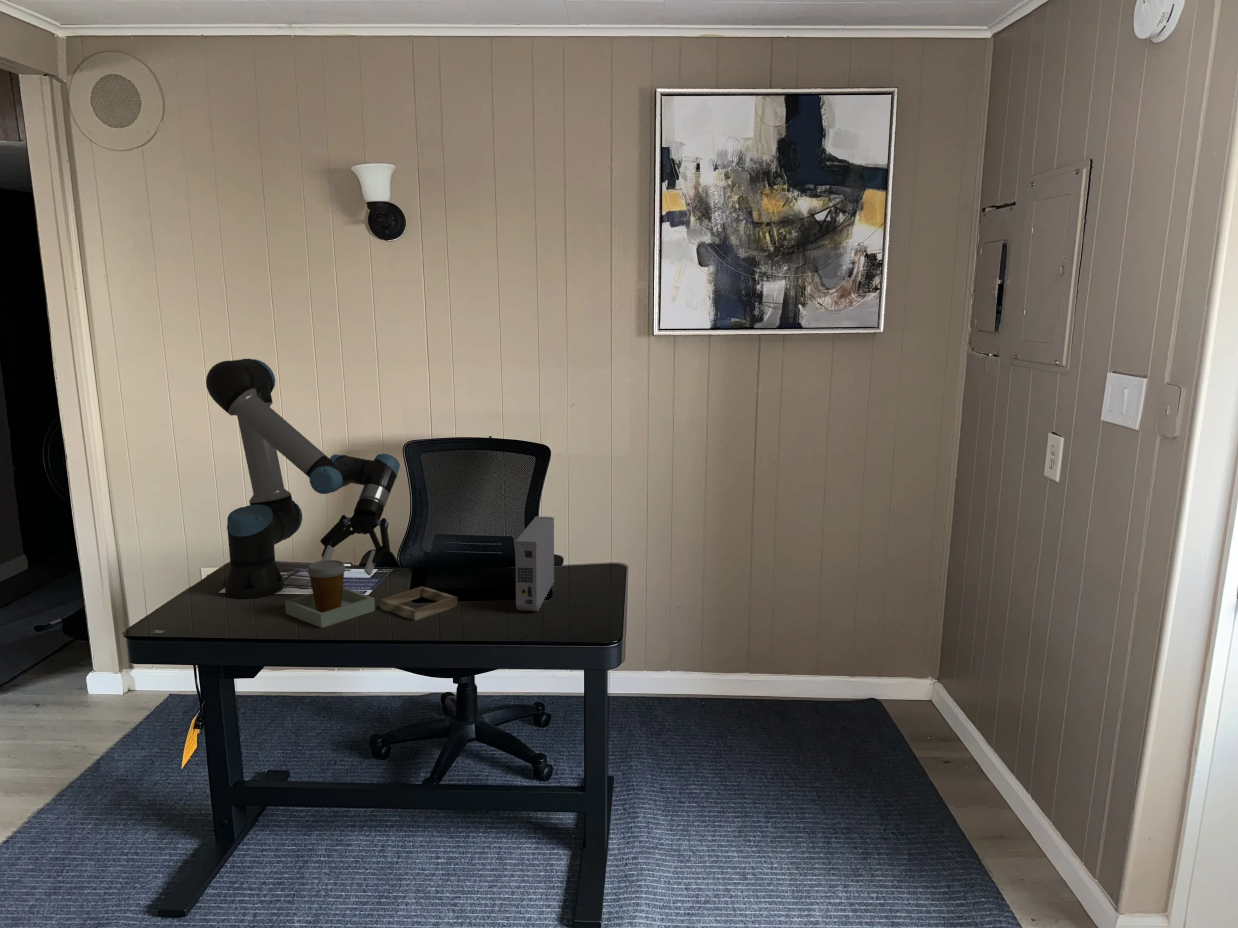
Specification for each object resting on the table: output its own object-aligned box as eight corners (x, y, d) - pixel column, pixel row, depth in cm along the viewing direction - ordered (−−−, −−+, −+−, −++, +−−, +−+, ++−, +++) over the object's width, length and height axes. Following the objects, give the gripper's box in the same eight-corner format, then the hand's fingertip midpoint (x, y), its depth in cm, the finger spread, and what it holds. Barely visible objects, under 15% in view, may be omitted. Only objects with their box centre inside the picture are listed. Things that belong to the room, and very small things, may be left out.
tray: (286, 613, 218) (285, 600, 217) (339, 597, 230) (338, 585, 230) (321, 627, 208) (320, 614, 208) (374, 610, 221) (374, 597, 220)
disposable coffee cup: (333, 600, 226) (330, 557, 223) (355, 607, 220) (353, 563, 218) (301, 609, 218) (299, 565, 216) (323, 617, 212) (321, 572, 210)
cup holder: (380, 608, 222) (379, 599, 222) (422, 594, 234) (422, 586, 233) (415, 620, 214) (414, 611, 213) (457, 605, 225) (457, 596, 225)
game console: (555, 582, 246) (555, 516, 243) (537, 614, 219) (537, 541, 216) (536, 581, 247) (535, 516, 243) (516, 613, 220) (515, 541, 216)
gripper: (416, 513, 235) (392, 581, 224) (338, 507, 241) (310, 573, 230) (406, 499, 229) (380, 568, 218) (326, 494, 235) (297, 560, 224)
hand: (344, 571), depth 224 cm, fingers open, 13 cm apart
